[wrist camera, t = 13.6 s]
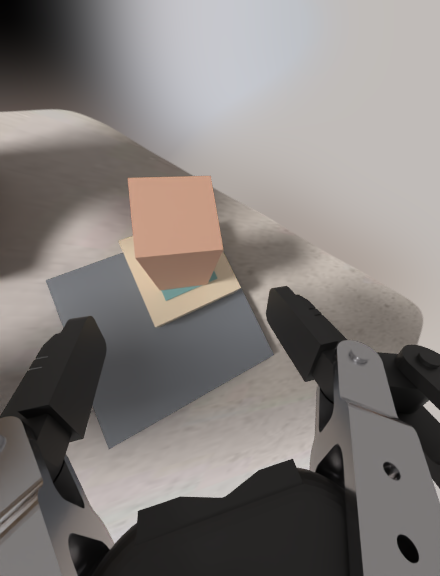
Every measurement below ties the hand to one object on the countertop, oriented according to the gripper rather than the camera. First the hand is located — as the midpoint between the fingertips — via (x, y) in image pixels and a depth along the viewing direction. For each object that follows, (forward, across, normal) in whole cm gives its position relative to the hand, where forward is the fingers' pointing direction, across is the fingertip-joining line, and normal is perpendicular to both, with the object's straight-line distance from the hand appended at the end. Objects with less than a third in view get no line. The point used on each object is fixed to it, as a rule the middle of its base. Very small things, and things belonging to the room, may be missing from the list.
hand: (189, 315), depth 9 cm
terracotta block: (+12, 0, +4) cm, 13 cm away
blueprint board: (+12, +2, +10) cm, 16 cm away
